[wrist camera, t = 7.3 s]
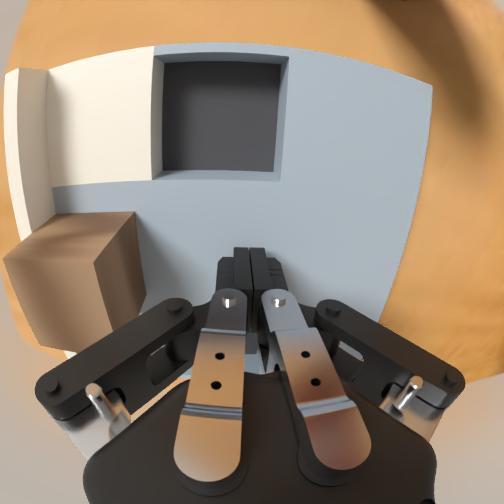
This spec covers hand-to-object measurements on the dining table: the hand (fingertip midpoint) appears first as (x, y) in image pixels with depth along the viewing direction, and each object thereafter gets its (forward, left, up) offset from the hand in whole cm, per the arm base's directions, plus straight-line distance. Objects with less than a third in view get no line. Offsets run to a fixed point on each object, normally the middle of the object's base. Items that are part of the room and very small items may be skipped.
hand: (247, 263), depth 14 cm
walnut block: (+8, 0, -1) cm, 8 cm away
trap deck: (+1, 0, -3) cm, 3 cm away
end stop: (+11, 0, -1) cm, 11 cm away
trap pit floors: (+2, 0, -3) cm, 4 cm away
